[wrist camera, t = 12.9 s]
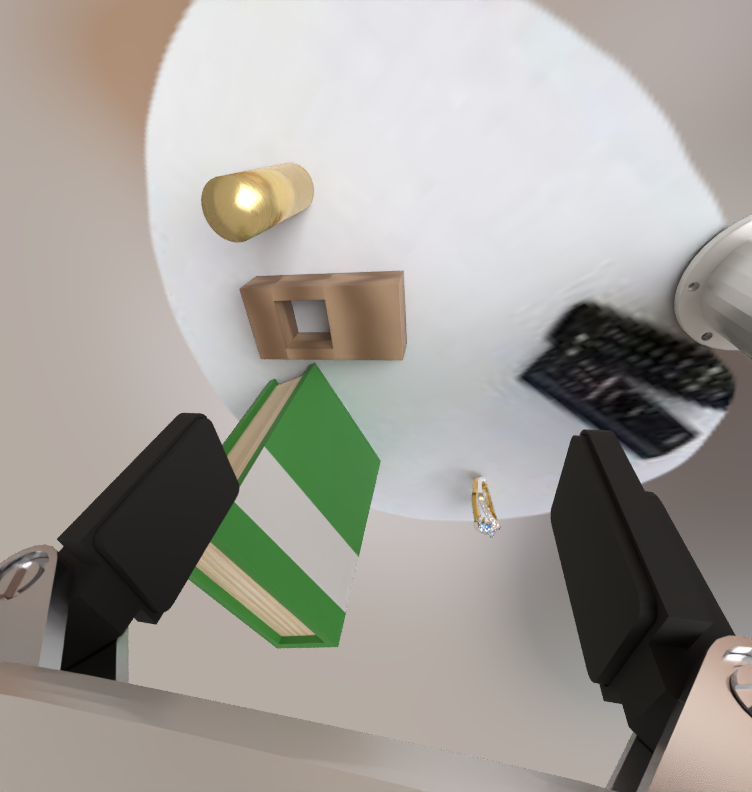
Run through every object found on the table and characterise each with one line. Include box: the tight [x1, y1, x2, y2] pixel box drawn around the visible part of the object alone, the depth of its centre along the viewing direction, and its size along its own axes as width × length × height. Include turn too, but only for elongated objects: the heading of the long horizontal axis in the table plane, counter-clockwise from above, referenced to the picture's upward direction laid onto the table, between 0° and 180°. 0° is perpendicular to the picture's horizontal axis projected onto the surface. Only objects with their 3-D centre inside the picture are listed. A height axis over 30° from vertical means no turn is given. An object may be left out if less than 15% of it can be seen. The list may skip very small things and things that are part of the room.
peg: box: [201, 163, 314, 242], centre depth 29 cm, size 4×4×12 cm
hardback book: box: [188, 363, 380, 648], centre depth 41 cm, size 18×7×24 cm, turn 28°
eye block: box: [240, 271, 407, 360], centre depth 39 cm, size 16×8×4 cm, turn 95°
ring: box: [472, 477, 501, 537], centre depth 49 cm, size 7×3×8 cm, turn 22°
